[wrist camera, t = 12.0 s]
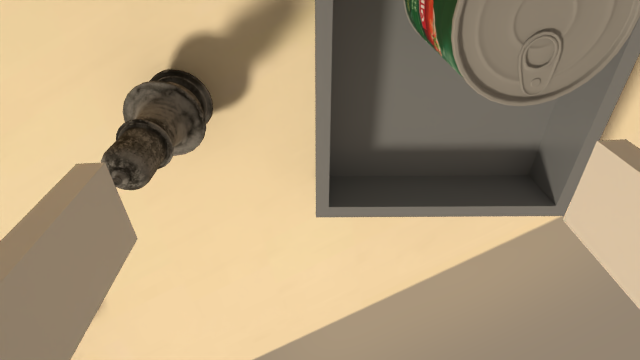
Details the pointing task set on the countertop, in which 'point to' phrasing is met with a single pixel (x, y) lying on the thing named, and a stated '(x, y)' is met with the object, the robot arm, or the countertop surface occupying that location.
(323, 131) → the tote
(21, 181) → the countertop surface
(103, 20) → the countertop surface
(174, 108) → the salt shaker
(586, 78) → the canned tomato
